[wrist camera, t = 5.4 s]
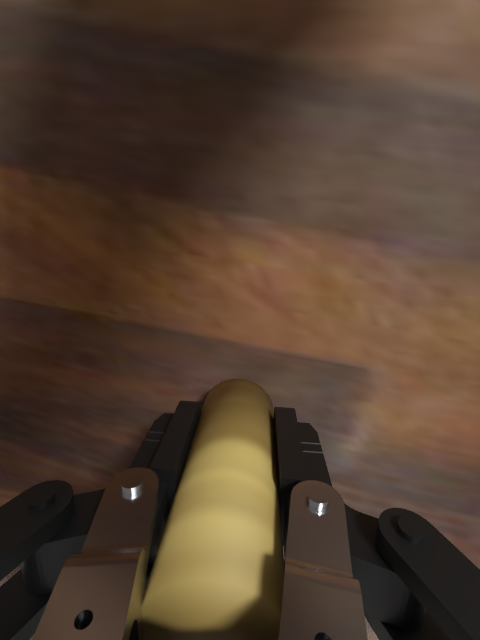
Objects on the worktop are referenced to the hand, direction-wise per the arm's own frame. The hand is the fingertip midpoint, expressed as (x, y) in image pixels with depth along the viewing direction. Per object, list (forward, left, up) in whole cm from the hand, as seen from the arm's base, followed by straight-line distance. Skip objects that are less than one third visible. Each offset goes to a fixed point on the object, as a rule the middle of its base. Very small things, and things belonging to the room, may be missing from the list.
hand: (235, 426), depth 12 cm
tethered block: (+8, 0, -1) cm, 8 cm away
